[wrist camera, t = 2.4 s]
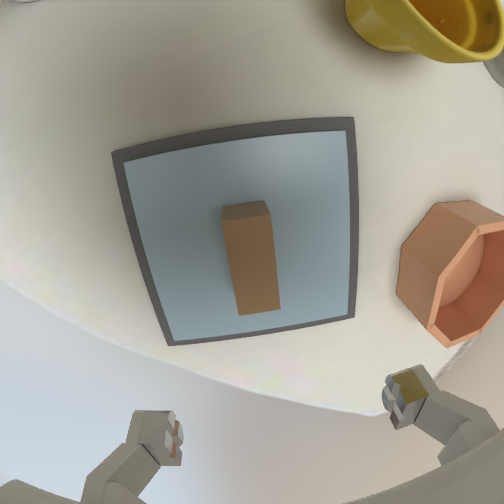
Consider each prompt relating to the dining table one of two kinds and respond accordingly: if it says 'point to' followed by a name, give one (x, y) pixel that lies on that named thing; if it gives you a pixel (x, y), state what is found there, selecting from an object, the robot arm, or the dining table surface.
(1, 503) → the robot arm
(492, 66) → the glass holder
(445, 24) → the plant pot
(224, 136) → the mat
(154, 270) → the sheet
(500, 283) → the bowl
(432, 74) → the dining table surface
